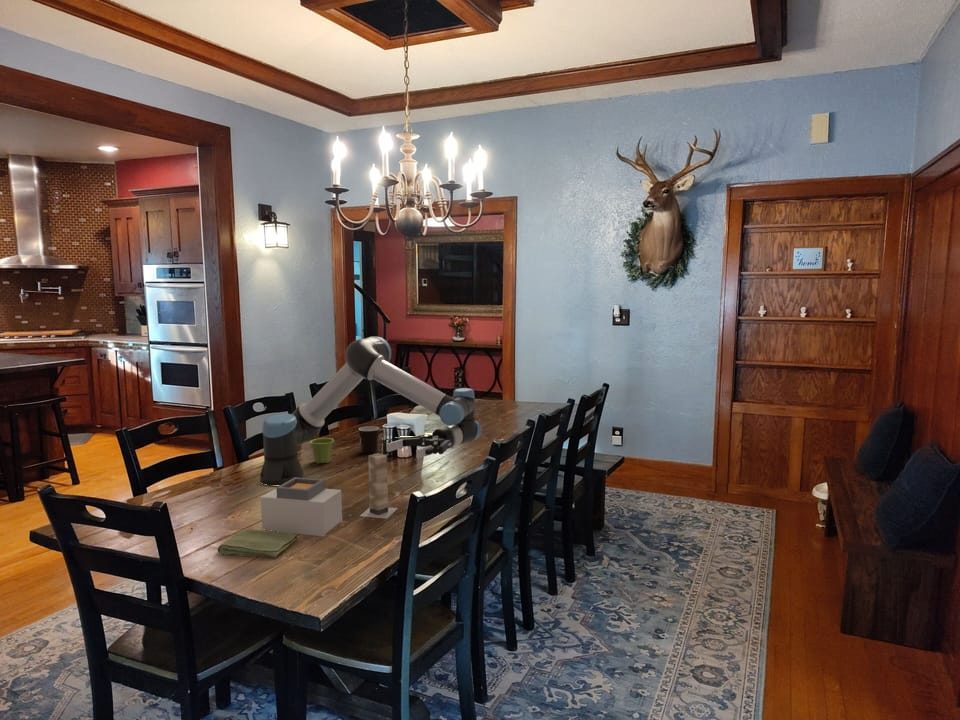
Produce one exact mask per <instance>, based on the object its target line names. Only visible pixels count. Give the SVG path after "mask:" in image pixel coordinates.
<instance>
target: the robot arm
mask: <svg viewBox="0 0 960 720" xmlns="http://www.w3.org/2000/svg"><path fill="white" fill-rule="evenodd" d="M344 354H345V355H344V356H345V357H344V358H345V364H344V365H342V367H341V368H339V370H338V371H337V372H336V373H335V374H334V375H333V376H332V377H331V378H330V379H329V380H328V381H327V382H326V383H325V384H324V385H323V386H322V388H320V390H318V392H317V393H316V394H315V395H314V396H313V397H312V398H311V399H309V401H307V403H304V402H303V403H300V404H299V406H298V407H297V408H295V410H294V411H293V412H292V413H280V414H279V413H278V414H276V415H274V414H273V415H271V416H269V417H266V419H264V421H263V422H262V432H261V433H262V441H263V442H262V443H263V444H262V445H263V459H264V460H263V464H262V468H261V472H260V474H259V482H261V483H263V484H267V485H282V484H284V483H286V482H287V481H289V480H291V479H293V478H294V477H298V478H304V471H303V468H302V465H301V463H300V460H299V455H298V453H299V452H298V446H299V445H301V444H303V443H306V442H308V441H309V442H310V441H311V440H314V438H315V437H316V436H317V435H318V434H319V433H320V431H321V429H322V427H323V426H324V425H325V419H326V417H328V415H329V414H330V413H331V412H333V410H334V409H335V408H337V406H338V405H339V404H340V403H341V402H342V401H343V400H344V399H345V398H346V397H347V396H348V395H349V394H350V393H351V392H352V391H353V390H354V389H355V388H356V387H357V386H358V385H359V384H360V383H361V382H362V381H363V379H365V380H368V381H373V380H374V381H376V382H377V383H380V384H381V385H383V386H385V387H386V388H388V389H390V390H392V391H393V392H395V393H397V394H399V395H401V396H402V397H405V398H406V399H408V400H410V401H412V402H413V403H415V404H417V405H418V406H420V407H422V408H423V409H425V410H427V411H429V412H431V413H433V414H435V415H437V416H438V417H439V418H440V420H441V422H442V423H443V424H444V425H446V426H444V427H443V426H442V427H440V428H435V429H434V430H433V432H432V433H431V434H432V435H428V436H424V434H422V435H417V436H400V437H396V439H397V440H395V441H391V442H390V441H389V442H390V443H386V452H387V453H390V452H393V451H396V450H399V449H401V450H402V449H403V448H406V447H418V446H420V447H421V448H417V449H416V450H415V451H416V452H415V454H416V459H421V458H424V457H428V456H430V455H436V454H438V455H443V454H444V453H445V452H446V451H447V450H448V449H450V448H451V449H454V447H458V446H461V445H464V444H466V443H467V444H468V443H471V442H473V441H476V440H478V439H479V438H480V436H482V427H481V424H480V422H479V421H477V420H476V405H475V404H476V401H475V400H476V398H475V391H474V389H473V388H468V387H461V388H456V389H454V390H453V393H452V394H453V395H452V397H451V396H449V395H448V394H446V393H444V392H442V391H440V390H439V389H437V388H435V387H433V386H431V385H430V384H428V383H426V382H425V381H423V380H421V379H419V378H418V377H416V376H413V374H412V375H411V373H408V372H406V371H405V370H403V369H401V368H400V367H398V366H396V365H394V364H392V363H390V361H391V358H392V349H391V346H390V344H389V343H388V341H387V340H386V339H384V338H383V337H380V336H373V335H372V336H368V337H366V338H361V339H355V340H354V341H352V342H351V343H350V344H348V346H347V348H346V350H345V353H344ZM261 483H260V484H261ZM263 484H262V485H263Z"/></svg>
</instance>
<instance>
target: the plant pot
mask: <svg viewBox="0 0 960 720" xmlns="http://www.w3.org/2000/svg"><path fill="white" fill-rule="evenodd" d="M334 442H335V440H334V438H329V437H321V438H315V439H314V438H313V439H311V440H309V443H310V445H311V447H312V452H313V457H314V463H316V464H319V463H322V464H328V463H330V462H331V461H332V452H333V445H334Z"/></svg>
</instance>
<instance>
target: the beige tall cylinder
mask: <svg viewBox="0 0 960 720" xmlns="http://www.w3.org/2000/svg"><path fill="white" fill-rule="evenodd" d="M367 458H368V459H367V460H368V462H367V463H368V491H369V493H368V499H369V508H370V513H373V514H376V515H381V514H383V513H386V512H388V507H389V496H388V495H389V490H388V489H389V488H388V487H389V486H388V455H387V454H383V453H377V452H376V453H372V454H369V455H368V456H367Z"/></svg>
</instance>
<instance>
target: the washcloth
mask: <svg viewBox="0 0 960 720" xmlns="http://www.w3.org/2000/svg"><path fill="white" fill-rule="evenodd" d="M297 539H298V534H294V533H287V532H275V531H265V530H258V529H245V530H244V529H243V530H240V531H238V532H237V533H236V534H235V535H233V536H232V537H231V538H230V539H227V540H226V541H224V542H223V543H220V545H219V546H218V547H217V552H218V553H219V554H220V553H221V554H220V555H222V554H226V555H225V556H231V555H242V556H241V557H251V556H252V557H253V556H254V557H255V556H257V557H258V556H260V557H261V558H269V559H271V558H272V559H274V558H275V559H276V558H277V557H278V555H280V554H281V553H282V552H284V550H287V549H288V548H289V547H290V546H291V545H292V544H293V543H294V542H295V541H296V540H297ZM243 555H244V556H243ZM257 557H255V558H257ZM258 558H259V557H258Z"/></svg>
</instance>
